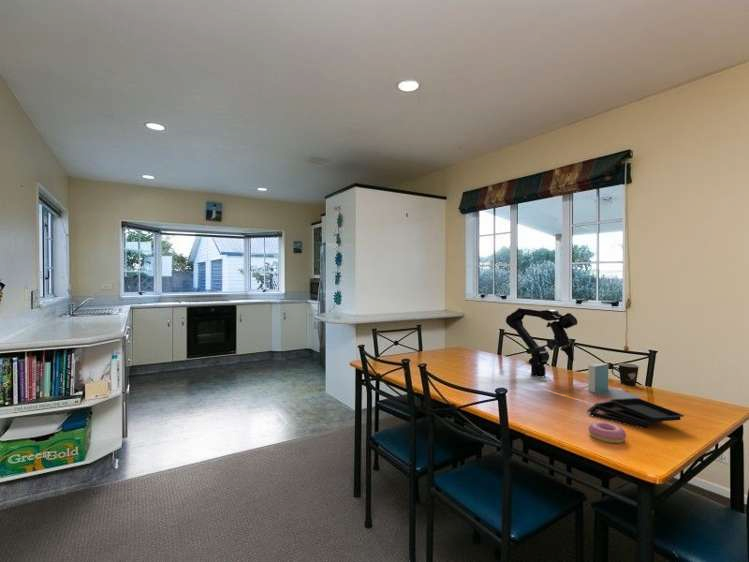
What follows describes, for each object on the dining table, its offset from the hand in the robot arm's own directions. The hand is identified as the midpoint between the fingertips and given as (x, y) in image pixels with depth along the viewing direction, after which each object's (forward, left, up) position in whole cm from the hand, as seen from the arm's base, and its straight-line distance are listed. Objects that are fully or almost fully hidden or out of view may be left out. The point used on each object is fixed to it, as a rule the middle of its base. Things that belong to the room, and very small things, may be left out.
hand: (572, 360), depth 191 cm
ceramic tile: (+12, -7, -11) cm, 17 cm away
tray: (+26, -38, -12) cm, 48 cm away
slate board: (+18, -10, -12) cm, 23 cm away
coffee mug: (+22, +16, -12) cm, 30 cm away
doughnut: (+19, -65, -12) cm, 69 cm away
